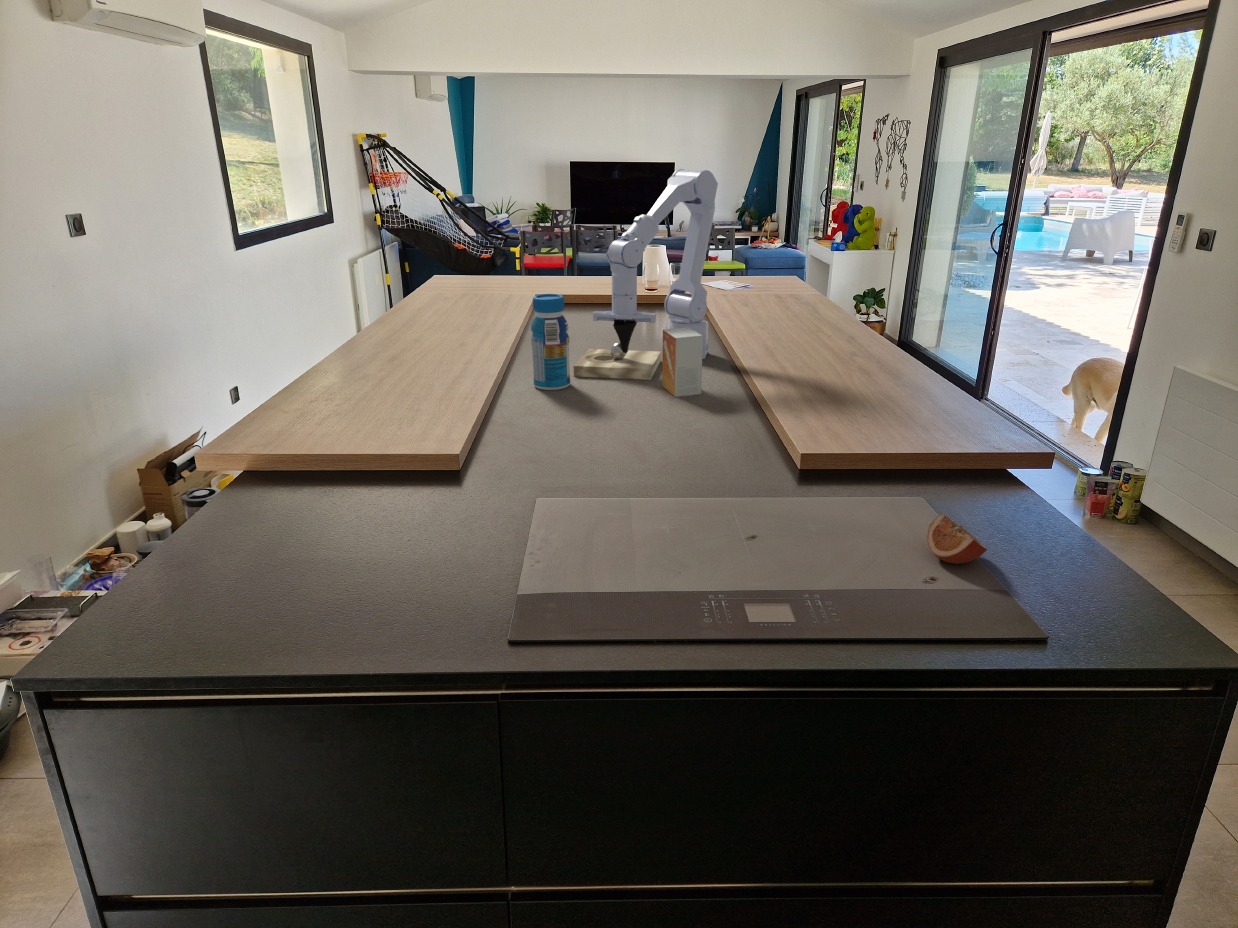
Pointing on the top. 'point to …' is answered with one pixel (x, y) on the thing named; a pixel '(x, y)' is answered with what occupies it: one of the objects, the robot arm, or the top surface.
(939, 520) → the fruit slice
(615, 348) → the steel ball
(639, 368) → the hole plate
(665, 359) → the small box
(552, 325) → the beverage bottle
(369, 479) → the top surface
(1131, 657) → the top surface
